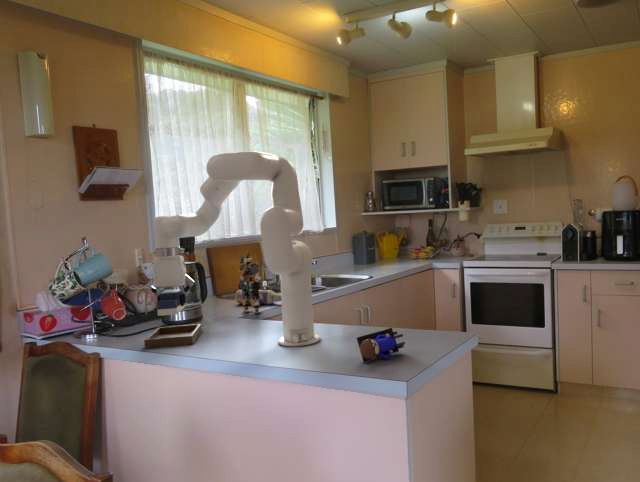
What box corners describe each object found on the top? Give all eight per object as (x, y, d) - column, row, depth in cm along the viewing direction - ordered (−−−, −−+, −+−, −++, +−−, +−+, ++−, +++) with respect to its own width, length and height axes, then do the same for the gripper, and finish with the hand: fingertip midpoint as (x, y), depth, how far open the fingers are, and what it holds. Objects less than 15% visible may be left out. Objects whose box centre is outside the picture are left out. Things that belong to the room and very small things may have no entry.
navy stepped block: (184, 306, 187) (183, 288, 187) (177, 314, 173) (175, 294, 173) (166, 308, 186) (165, 289, 186) (157, 315, 172) (156, 295, 172)
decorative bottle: (234, 305, 246) (233, 290, 246) (244, 302, 253) (243, 288, 253) (282, 306, 236) (282, 291, 236) (291, 303, 243) (290, 288, 243)
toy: (271, 313, 221) (267, 252, 219) (253, 317, 215) (249, 254, 213) (251, 310, 231) (247, 252, 229) (233, 313, 224) (229, 254, 223)
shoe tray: (192, 344, 173) (192, 335, 173) (144, 348, 170) (144, 340, 170) (201, 331, 192) (201, 323, 192) (158, 335, 190) (158, 327, 190)
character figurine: (410, 355, 147) (369, 368, 137) (391, 349, 152) (350, 361, 142) (410, 327, 146) (368, 339, 136) (391, 322, 151) (350, 333, 141)
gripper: (196, 250, 185) (200, 302, 186) (143, 253, 182) (148, 306, 183) (193, 252, 178) (197, 306, 179) (138, 255, 175) (142, 310, 176)
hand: (172, 305), depth 181 cm, fingers closed on navy stepped block, 6 cm apart
